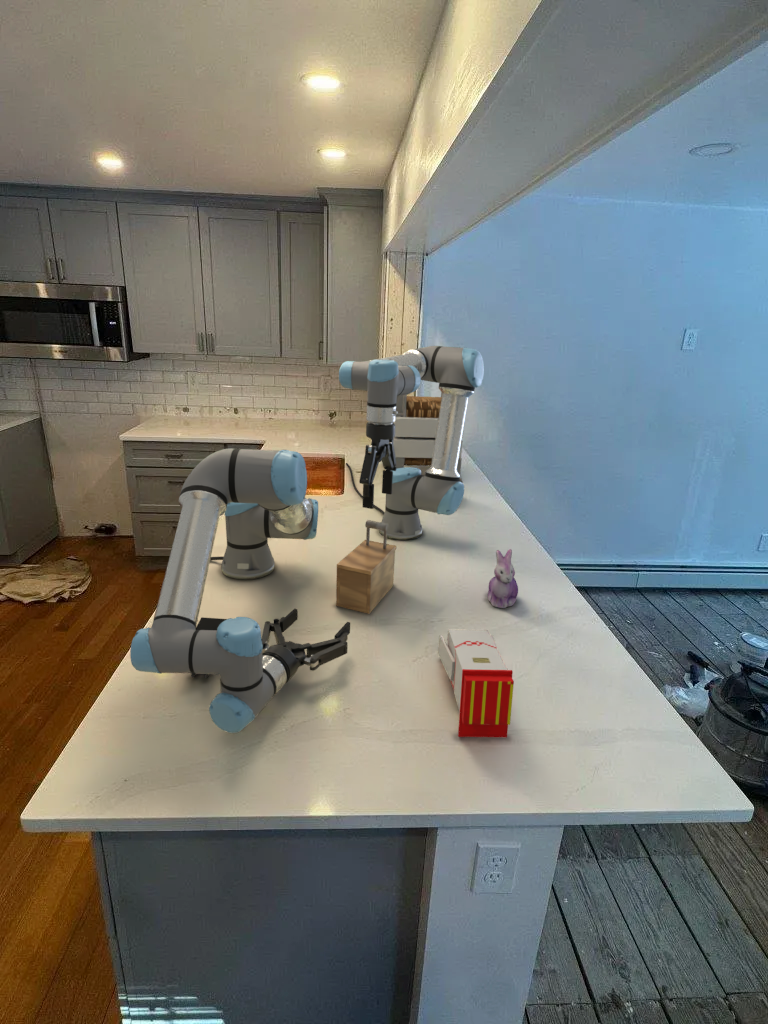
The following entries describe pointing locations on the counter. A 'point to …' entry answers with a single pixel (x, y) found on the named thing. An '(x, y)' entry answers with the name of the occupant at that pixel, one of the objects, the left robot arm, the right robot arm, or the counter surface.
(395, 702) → the counter surface
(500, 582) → the figurine
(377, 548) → the lid
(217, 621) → the figurine character
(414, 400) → the grey wooden crate
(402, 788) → the counter surface
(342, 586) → the chest
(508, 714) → the toy
